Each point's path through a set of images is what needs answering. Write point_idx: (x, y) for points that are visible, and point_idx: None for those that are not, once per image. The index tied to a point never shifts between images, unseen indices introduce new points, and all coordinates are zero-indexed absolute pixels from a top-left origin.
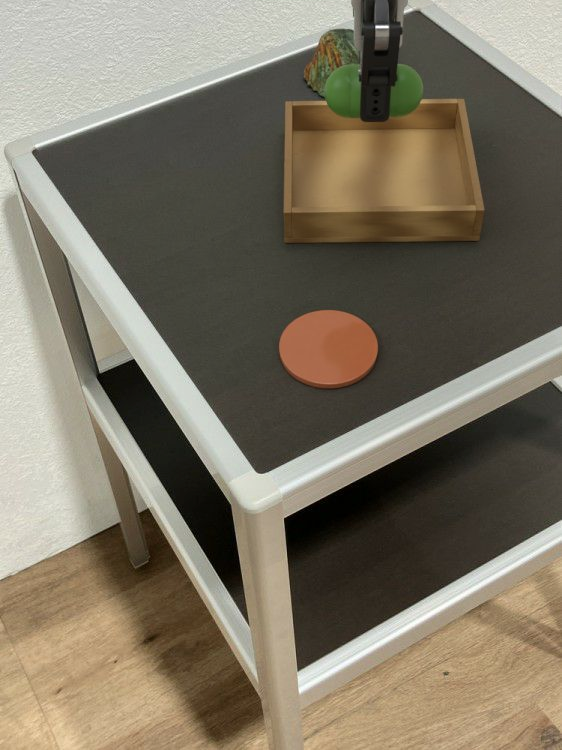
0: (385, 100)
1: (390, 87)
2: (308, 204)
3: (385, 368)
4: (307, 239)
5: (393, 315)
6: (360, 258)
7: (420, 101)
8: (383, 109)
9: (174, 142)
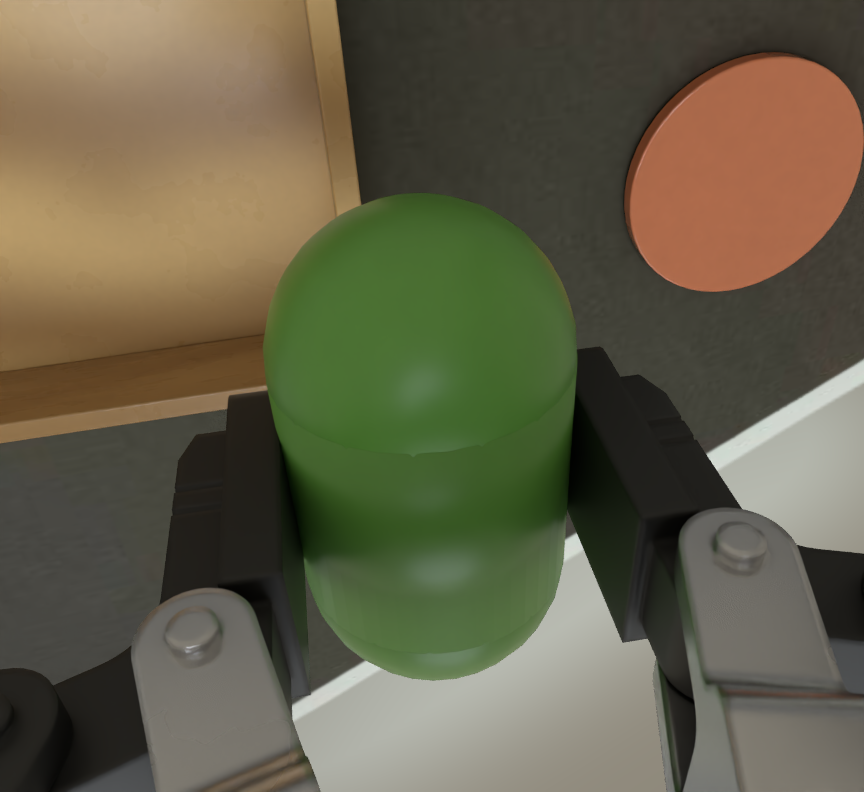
0: (699, 450)
1: (674, 471)
2: (225, 298)
3: (820, 26)
4: None
5: (641, 12)
6: (413, 125)
7: (465, 201)
8: (674, 420)
9: (40, 609)
